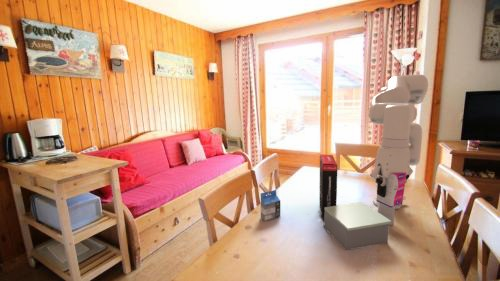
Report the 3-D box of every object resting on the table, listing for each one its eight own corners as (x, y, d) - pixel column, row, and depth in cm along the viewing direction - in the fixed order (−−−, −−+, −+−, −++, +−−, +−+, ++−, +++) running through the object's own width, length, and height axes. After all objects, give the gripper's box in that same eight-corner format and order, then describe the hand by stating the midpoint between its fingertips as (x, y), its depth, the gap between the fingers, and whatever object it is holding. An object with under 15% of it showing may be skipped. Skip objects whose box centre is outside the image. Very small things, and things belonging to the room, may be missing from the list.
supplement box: (391, 208, 78) (394, 175, 76) (375, 201, 83) (378, 169, 81) (403, 204, 80) (406, 172, 78) (387, 197, 86) (389, 167, 83)
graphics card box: (336, 221, 108) (339, 163, 103) (320, 220, 110) (322, 163, 105) (331, 204, 125) (333, 154, 120) (317, 204, 126) (319, 153, 121)
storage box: (360, 221, 108) (361, 205, 106) (387, 242, 92) (389, 224, 91) (323, 227, 104) (324, 210, 103) (345, 249, 89) (346, 230, 87)
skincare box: (391, 221, 108) (393, 196, 105) (393, 225, 104) (396, 200, 102) (376, 219, 110) (378, 194, 107) (377, 223, 106) (380, 198, 103)
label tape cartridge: (264, 221, 110) (264, 196, 108) (260, 217, 113) (260, 193, 111) (280, 216, 114) (280, 192, 112) (276, 213, 117) (276, 189, 115)
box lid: (361, 203, 107) (361, 201, 106) (391, 223, 90) (391, 221, 90) (324, 209, 103) (324, 207, 103) (348, 230, 87) (348, 228, 87)
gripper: (407, 139, 83) (402, 187, 87) (363, 142, 79) (360, 193, 83) (427, 143, 76) (421, 195, 79) (380, 147, 72) (375, 202, 76)
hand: (390, 194), depth 81 cm, fingers closed on supplement box, 6 cm apart
